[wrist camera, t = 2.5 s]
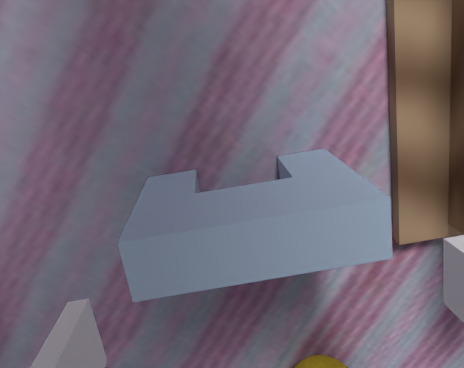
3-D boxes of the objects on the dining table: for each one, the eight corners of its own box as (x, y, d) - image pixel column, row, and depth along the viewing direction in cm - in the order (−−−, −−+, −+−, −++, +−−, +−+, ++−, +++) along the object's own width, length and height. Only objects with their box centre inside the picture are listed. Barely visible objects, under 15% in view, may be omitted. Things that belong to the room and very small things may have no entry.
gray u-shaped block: (157, 218, 28) (132, 302, 18) (148, 177, 27) (117, 243, 17) (327, 190, 28) (392, 258, 18) (324, 148, 27) (390, 197, 17)
